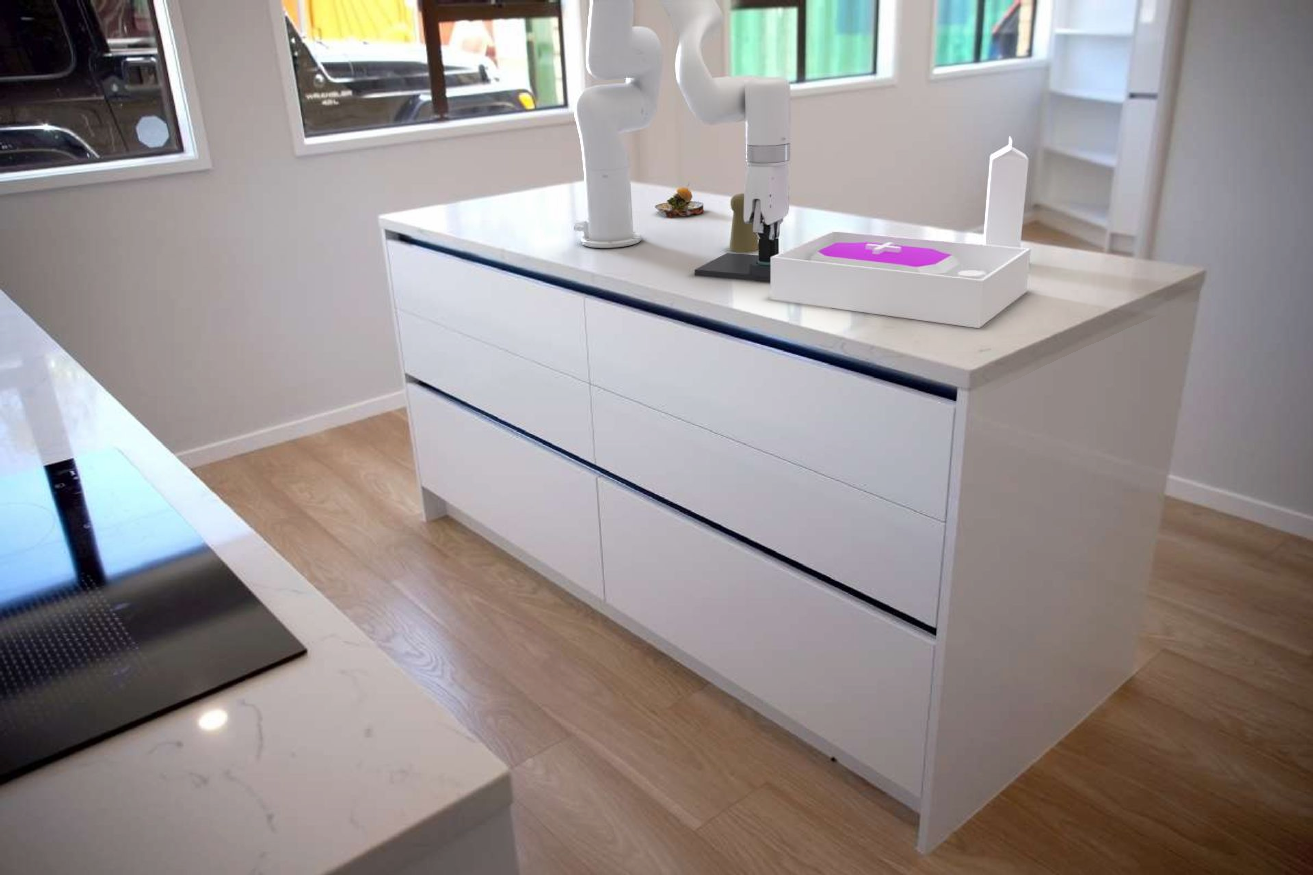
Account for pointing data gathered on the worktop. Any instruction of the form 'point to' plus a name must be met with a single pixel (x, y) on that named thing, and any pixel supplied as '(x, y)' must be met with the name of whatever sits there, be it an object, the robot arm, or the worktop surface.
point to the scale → (736, 268)
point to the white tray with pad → (902, 277)
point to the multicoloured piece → (680, 204)
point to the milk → (1005, 197)
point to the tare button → (764, 263)
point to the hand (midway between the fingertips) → (768, 260)
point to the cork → (741, 229)
